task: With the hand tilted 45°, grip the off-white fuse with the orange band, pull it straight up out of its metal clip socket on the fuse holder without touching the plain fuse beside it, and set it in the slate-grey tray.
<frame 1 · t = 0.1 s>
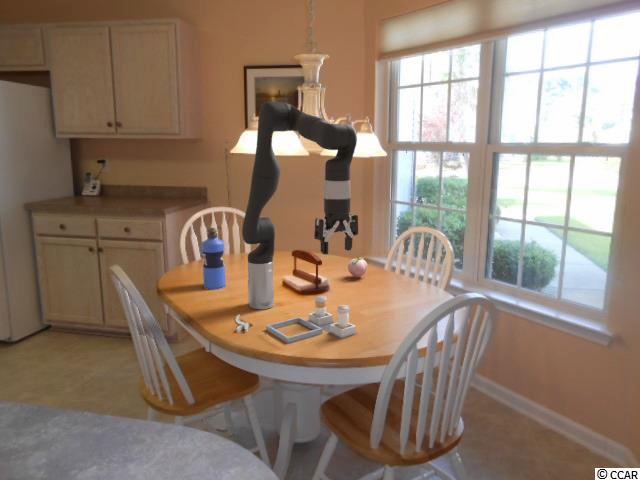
hand: (336, 252, 140), 29 cm above the table, tool pointing down, fingers open, 8 cm apart
water bottle: (214, 286, 205), on the table
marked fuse: (320, 321, 163), point 1 cm above the table, touching fuse holder
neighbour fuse: (342, 332, 154), point 1 cm above the table, touching fuse holder
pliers: (246, 325, 164), on the table
fuse holder: (331, 329, 159), on the table
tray: (294, 334, 155), on the table
decorative fruit: (356, 278, 218), on the table
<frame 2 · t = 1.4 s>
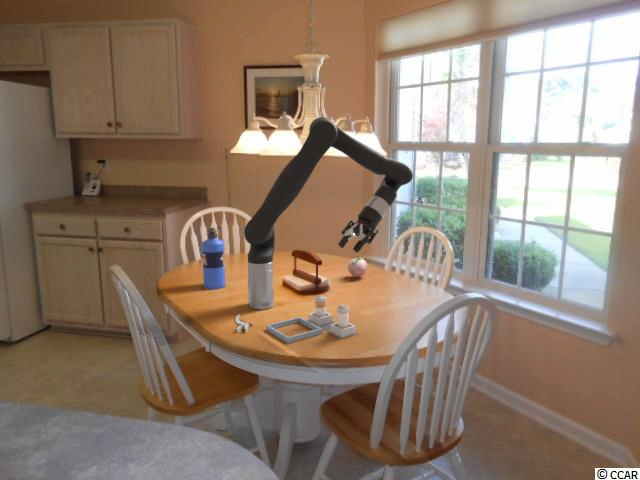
hand: (347, 248, 164), 25 cm above the table, tool tilted 45°, fingers open, 8 cm apart
nothing on the table moved.
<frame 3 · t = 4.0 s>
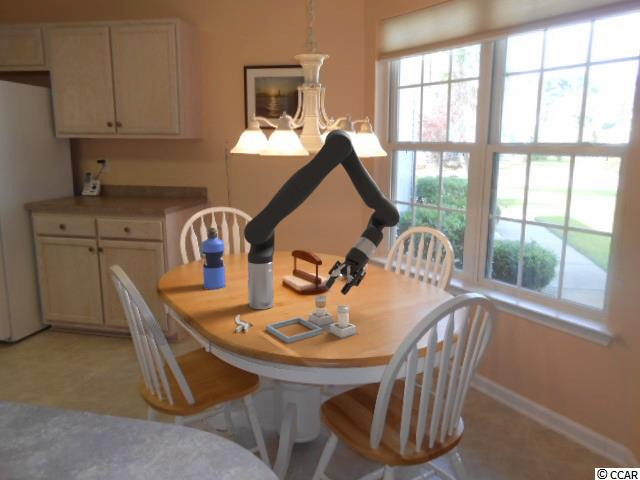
hand: (334, 290, 165), 11 cm above the table, tool tilted 45°, fingers open, 8 cm apart
nothing on the table moved.
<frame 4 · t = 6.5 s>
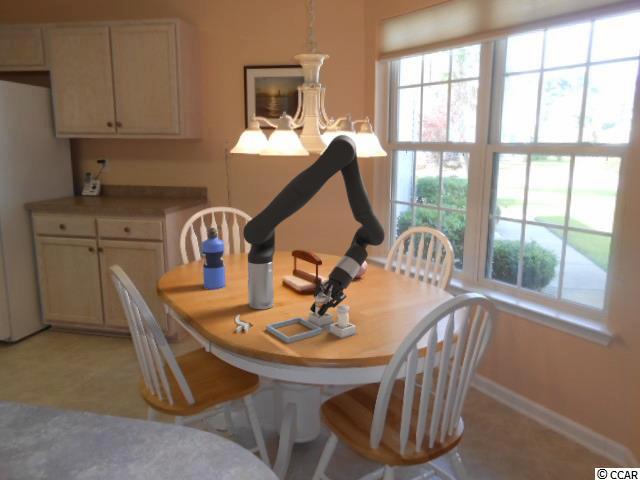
hand: (315, 312, 161), 4 cm above the table, tool tilted 45°, fingers closed on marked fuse, 3 cm apart
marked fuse: (320, 321, 163), point 1 cm above the table, touching fuse holder, gripper
everything else where it was.
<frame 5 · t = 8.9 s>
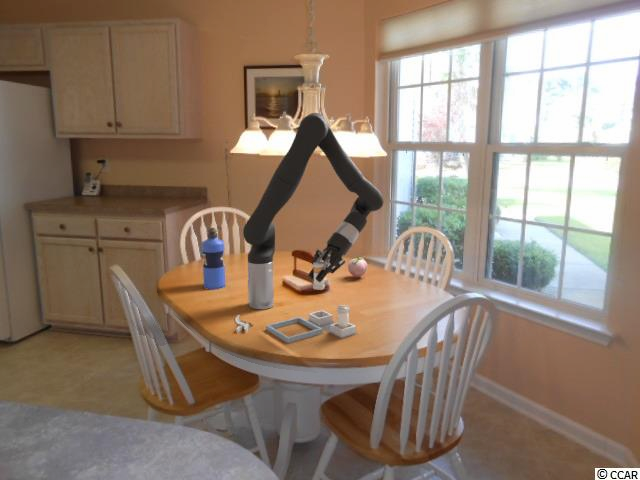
hand: (314, 279, 158), 16 cm above the table, tool tilted 45°, fingers closed on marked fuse, 3 cm apart
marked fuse: (318, 287, 160), point 13 cm above the table, touching gripper
everything else where it was.
when the fingers open (6 cm above the table, at t = 11.5 s): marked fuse drops 1 cm, resting on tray.
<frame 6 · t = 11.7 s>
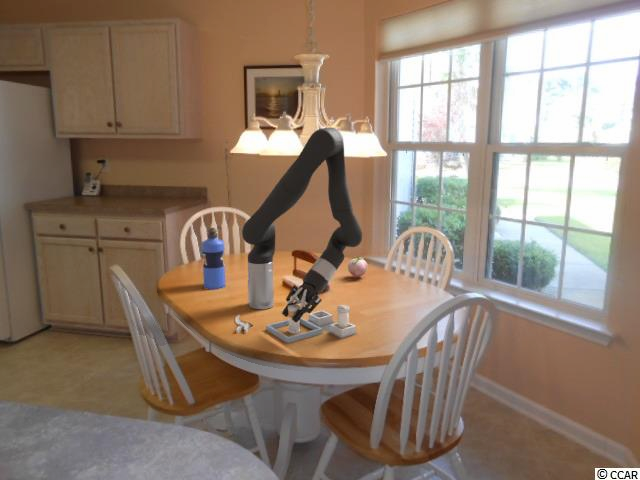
hand: (289, 317, 153), 6 cm above the table, tool tilted 45°, fingers open, 5 cm apart
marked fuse: (294, 331, 155), point 1 cm above the table, touching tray
everything else where it was.
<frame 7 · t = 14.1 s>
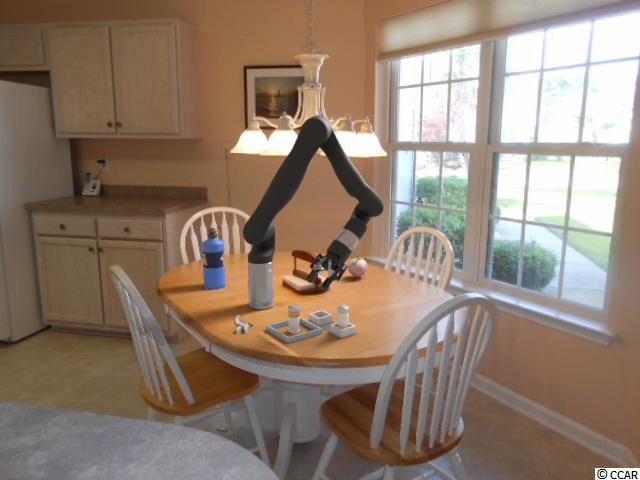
hand: (315, 284, 158), 15 cm above the table, tool tilted 45°, fingers open, 8 cm apart
nothing on the table moved.
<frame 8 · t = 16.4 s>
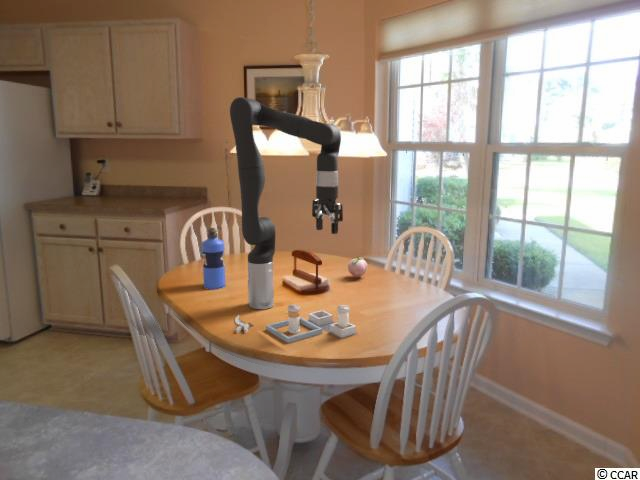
hand: (326, 231, 166), 30 cm above the table, tool pointing down, fingers open, 8 cm apart
nothing on the table moved.
at the end: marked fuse inside the target area on the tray (0.1 cm from its centre), point 0.8 cm above the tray's base; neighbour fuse moved 0.0 cm from its start; the gripper is holding nothing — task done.
